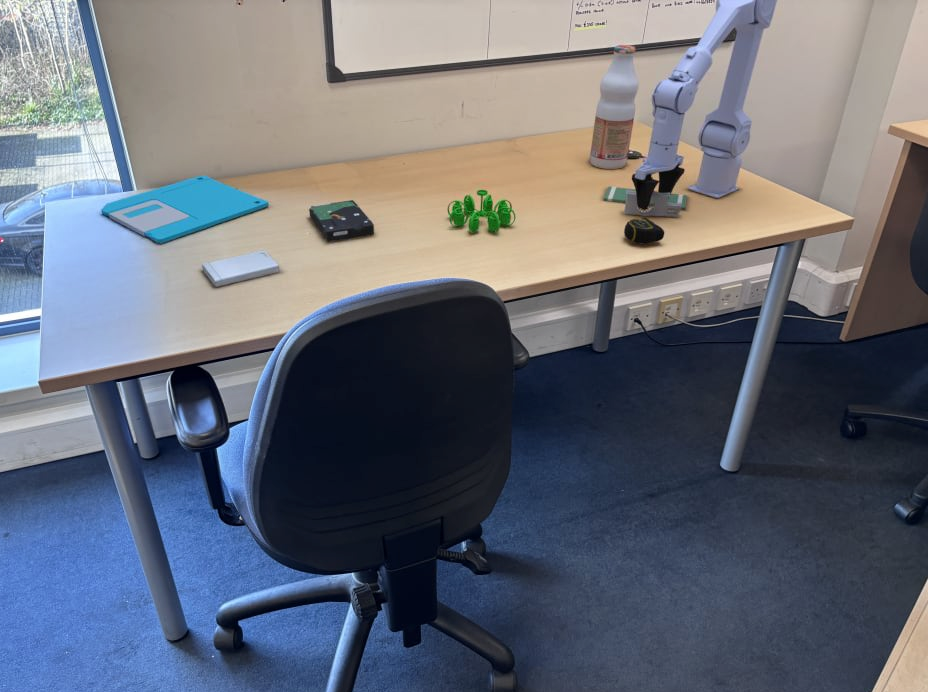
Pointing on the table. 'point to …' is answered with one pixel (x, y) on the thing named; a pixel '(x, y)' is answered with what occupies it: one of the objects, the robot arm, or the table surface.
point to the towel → (620, 193)
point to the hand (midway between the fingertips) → (652, 204)
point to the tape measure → (643, 231)
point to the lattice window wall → (659, 207)
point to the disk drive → (341, 221)
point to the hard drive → (240, 268)
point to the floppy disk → (181, 208)
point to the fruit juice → (615, 111)
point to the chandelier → (481, 213)
